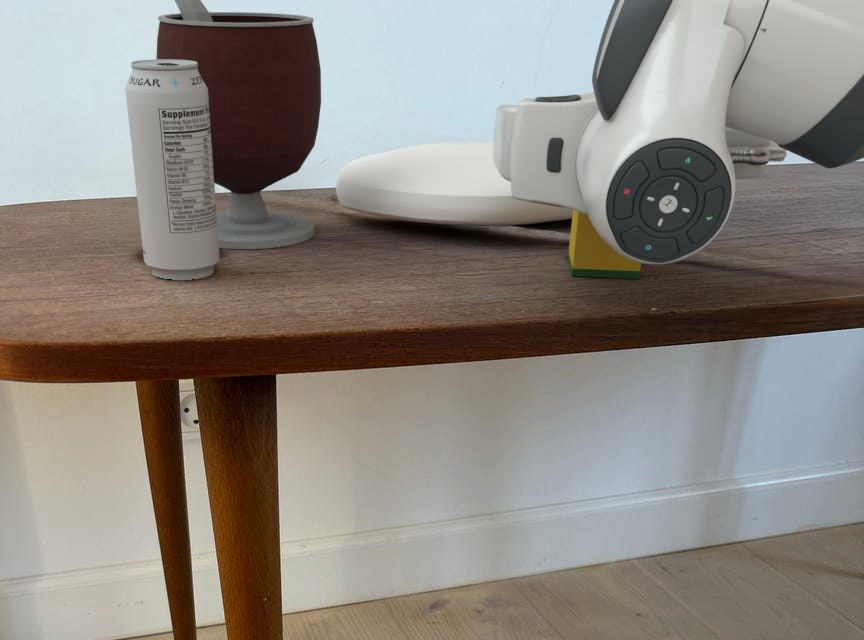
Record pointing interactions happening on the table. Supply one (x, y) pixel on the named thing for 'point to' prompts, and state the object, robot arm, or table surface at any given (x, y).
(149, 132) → the energy drink can
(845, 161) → the robot arm
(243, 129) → the mate gourd
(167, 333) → the table surface
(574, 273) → the dish wand
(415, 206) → the plate
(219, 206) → the table surface
